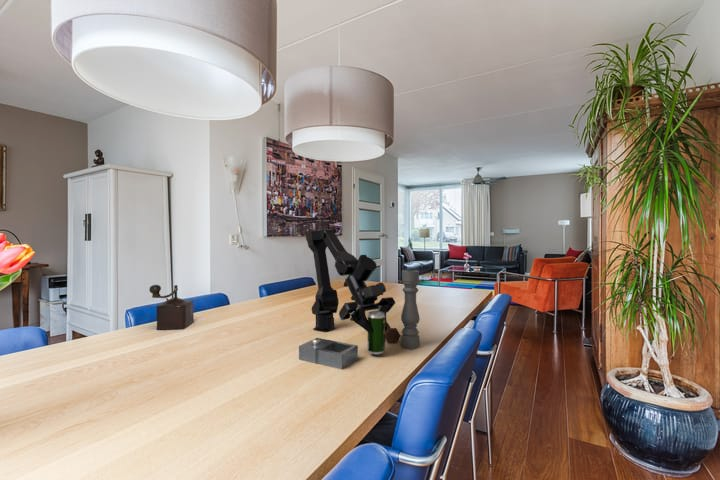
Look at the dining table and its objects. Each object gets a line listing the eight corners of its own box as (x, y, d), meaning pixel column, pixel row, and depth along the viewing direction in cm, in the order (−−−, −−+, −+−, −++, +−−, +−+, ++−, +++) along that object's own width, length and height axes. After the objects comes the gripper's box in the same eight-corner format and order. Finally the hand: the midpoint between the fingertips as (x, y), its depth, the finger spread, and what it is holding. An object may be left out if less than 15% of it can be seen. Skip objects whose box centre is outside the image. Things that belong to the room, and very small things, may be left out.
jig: (298, 359, 102) (298, 342, 101) (317, 350, 109) (316, 334, 109) (341, 369, 94) (341, 351, 94) (357, 358, 102) (357, 342, 102)
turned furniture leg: (420, 344, 116) (421, 270, 115) (417, 350, 110) (418, 272, 109) (402, 342, 118) (403, 269, 117) (398, 347, 112) (399, 271, 111)
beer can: (369, 355, 102) (370, 315, 102) (365, 349, 107) (365, 311, 107) (387, 354, 103) (387, 314, 103) (381, 347, 109) (382, 310, 108)
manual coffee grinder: (166, 323, 141) (165, 279, 141) (194, 322, 143) (193, 279, 142) (147, 334, 126) (146, 285, 126) (178, 333, 127) (178, 285, 127)
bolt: (383, 335, 131) (395, 347, 116) (372, 330, 130) (382, 341, 115) (390, 322, 131) (403, 332, 117) (379, 316, 131) (390, 325, 116)
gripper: (344, 276, 103) (364, 321, 94) (392, 272, 113) (414, 312, 104) (330, 298, 109) (349, 342, 101) (377, 292, 120) (397, 331, 111)
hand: (379, 331), depth 104 cm, fingers closed on beer can, 5 cm apart
